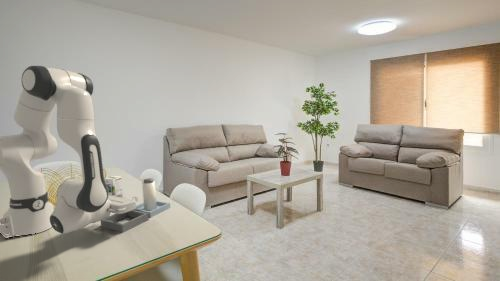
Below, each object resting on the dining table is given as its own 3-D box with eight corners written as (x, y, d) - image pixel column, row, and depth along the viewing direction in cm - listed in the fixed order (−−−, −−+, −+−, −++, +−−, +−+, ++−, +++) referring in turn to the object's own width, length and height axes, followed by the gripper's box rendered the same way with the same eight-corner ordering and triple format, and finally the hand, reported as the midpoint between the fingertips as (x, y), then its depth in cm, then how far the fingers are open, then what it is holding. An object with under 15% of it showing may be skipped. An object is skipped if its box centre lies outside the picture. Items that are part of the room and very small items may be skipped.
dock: (101, 226, 111) (100, 219, 111) (127, 215, 123) (127, 208, 123) (123, 232, 106) (122, 225, 105) (148, 219, 117) (148, 213, 117)
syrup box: (106, 206, 134) (103, 178, 132) (116, 202, 140) (113, 175, 138) (114, 208, 132) (112, 179, 130) (124, 203, 138) (122, 176, 136)
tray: (130, 213, 125) (130, 208, 125) (151, 204, 137) (150, 199, 136) (150, 217, 120) (150, 212, 120) (170, 207, 131) (170, 203, 131)
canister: (141, 209, 127) (139, 180, 125) (150, 205, 132) (148, 177, 130) (150, 211, 124) (148, 181, 123) (159, 207, 129) (157, 178, 127)
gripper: (117, 204, 100) (146, 193, 112) (82, 197, 108) (112, 187, 121) (118, 220, 100) (147, 207, 113) (83, 212, 109) (113, 201, 122)
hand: (129, 197), depth 117 cm, fingers open, 8 cm apart
